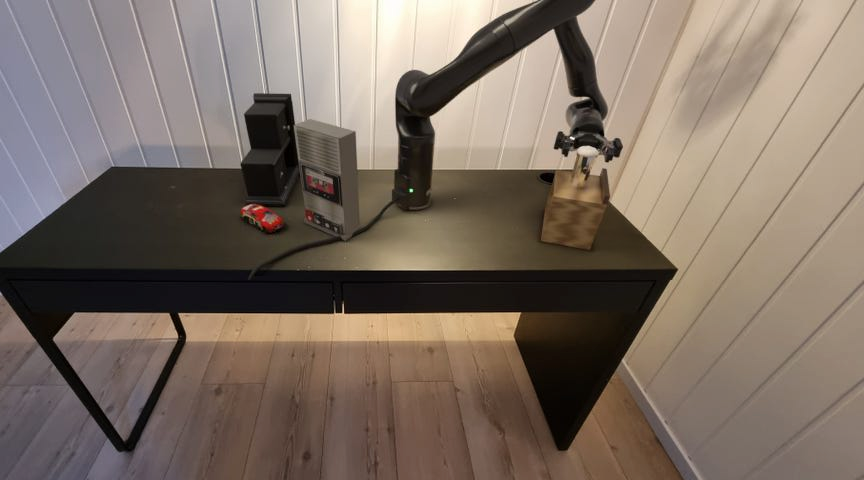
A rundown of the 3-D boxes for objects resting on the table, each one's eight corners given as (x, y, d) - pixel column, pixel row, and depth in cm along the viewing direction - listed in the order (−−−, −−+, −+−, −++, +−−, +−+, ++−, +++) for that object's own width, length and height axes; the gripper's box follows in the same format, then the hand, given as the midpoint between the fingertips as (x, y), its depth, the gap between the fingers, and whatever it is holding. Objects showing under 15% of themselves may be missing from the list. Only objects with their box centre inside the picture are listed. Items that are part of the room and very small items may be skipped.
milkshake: (593, 191, 93) (608, 148, 87) (568, 188, 94) (581, 146, 87) (589, 182, 96) (603, 140, 90) (565, 180, 97) (577, 138, 91)
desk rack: (540, 241, 98) (555, 188, 90) (544, 211, 109) (558, 162, 101) (589, 250, 95) (610, 196, 86) (588, 219, 106) (606, 168, 97)
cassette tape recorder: (304, 223, 104) (290, 125, 89) (320, 214, 108) (310, 118, 93) (344, 242, 98) (336, 139, 82) (360, 231, 102) (356, 131, 86)
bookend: (285, 207, 111) (270, 119, 97) (245, 206, 112) (225, 119, 97) (302, 170, 130) (291, 93, 115) (268, 170, 130) (254, 92, 115)
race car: (288, 228, 103) (285, 214, 100) (270, 237, 100) (267, 223, 97) (257, 210, 110) (254, 197, 107) (239, 218, 106) (236, 205, 104)
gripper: (560, 113, 102) (557, 134, 90) (623, 119, 98) (629, 143, 86) (553, 142, 106) (549, 166, 94) (612, 150, 102) (616, 176, 90)
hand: (587, 155), depth 90 cm, fingers open, 8 cm apart
